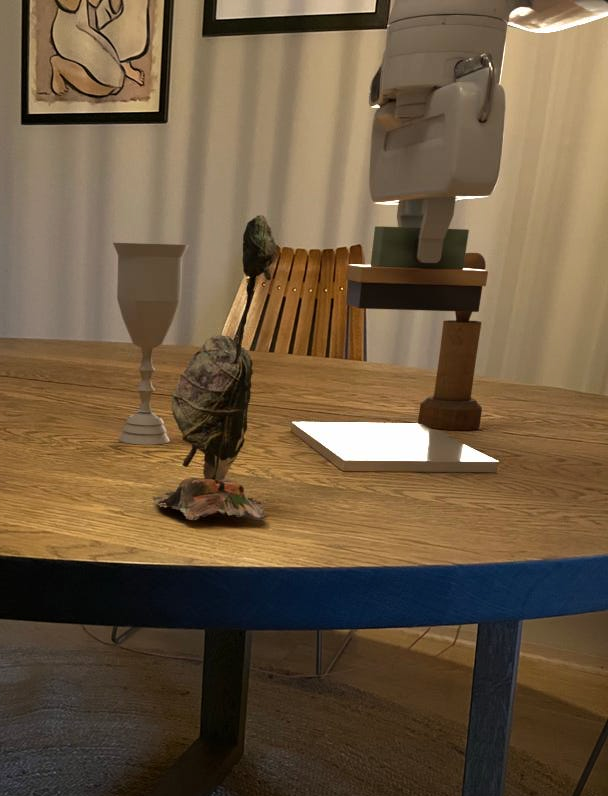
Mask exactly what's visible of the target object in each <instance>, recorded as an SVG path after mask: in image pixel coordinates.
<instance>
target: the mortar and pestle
mask: <svg viewBox="0 0 608 796" xmlns="http://www.w3.org/2000/svg"><path fill="white" fill-rule="evenodd" d="M486 264H487V263H486V260H485V258H484V256H483V255H482V254H481V253H479V252H466V254H465V261H464V268H469V269H478V270H486ZM454 312H455V314H454V315H455V319H453V320H451V319H449V320H448V319H447V320H443V322H442V330H441V340H440V347H439V355H438V362H437V369H436V377H435V384H434V385H435V386H434V390H433V391H434V392H433V395H430V396H428V397H427V398H425V399H424V400H423V401H422V402H421V403H420V404H419V412H418V417H417V424H422V425H424V426H426V427H428V428H431V429H434V430H443V431H473V430H478V429H479V428H480V425H481V419H482V411H483V410H482V409H483V406H482V405H480V404H479V402H478V401H477V399H475V398H473V397H472V394H473V392H472V391H473V385H474V379H475V378H474V376H475V370H476V362H477V355H478V348H479V342H480V336H481V330H482V329H481V328H482V321H479V320H470V319H471V316H472V314H473V312H460V311H454Z"/></svg>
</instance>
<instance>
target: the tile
mask: <svg viewBox="0 0 608 796" xmlns="http://www.w3.org/2000/svg"><path fill="white" fill-rule="evenodd" d="M290 432H291V433H292V434H294V436H296V437H298V438H299V439H300V440H301V441H303V442H304V443H305V444H307V445H308V446H309V447H310V448H312V449H313V450H315V451H316V452H317V453H318V454H320V455H321V456H323V457H324V459H326V460H328V461H329V462H330V463H331V464H333V465H334V466H335V467H337V468H338V469H339V470H341V472H370V473H371V472H376V473H377V472H378V473H379V472H381V473H383V472H384V473H386V472H387V473H402V472H403V473H475V474H476V473H482V474H483V473H484V474H485V473H486V474H487V473H490V474H493V473H495V474H497V473H498V472H499V467H500V461H499V460H496V459H494V458H493V457H491V456H488V455H486V454H484V453H482V452H480V451H478V450H476V449H474V448H472V447H470V446H468V445H466V444H463V443H462V442H460V441H457V440H456V439H453V438H451V437H449V436H448V435H445V434H443V433H441V432H438V431H437V430H436V429H434V428H429V427H426V426H424V425H422V424H418V423H400V422H399V423H398V422H397V423H395V422H393V423H392V422H385V423H384V422H328V421H327V422H325V421H324V422H322V421H321V422H320V421H319V422H318V421H316V422H315V421H291V422H290Z"/></svg>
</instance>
